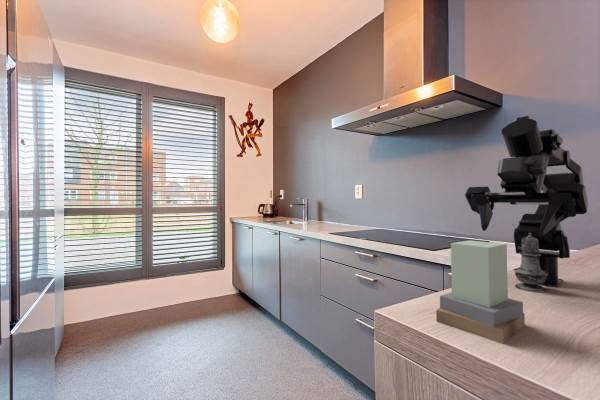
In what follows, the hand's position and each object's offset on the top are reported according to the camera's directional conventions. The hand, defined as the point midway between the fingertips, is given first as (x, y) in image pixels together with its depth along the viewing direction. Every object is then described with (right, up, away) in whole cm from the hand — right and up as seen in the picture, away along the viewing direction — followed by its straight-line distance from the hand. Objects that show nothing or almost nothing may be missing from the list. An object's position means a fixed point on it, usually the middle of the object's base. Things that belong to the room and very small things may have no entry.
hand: (510, 231), depth 54 cm
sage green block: (-12, -9, -9) cm, 18 cm away
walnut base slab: (-12, -14, -9) cm, 20 cm away
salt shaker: (+10, -13, +8) cm, 18 cm away
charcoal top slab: (-12, -11, -9) cm, 19 cm away
